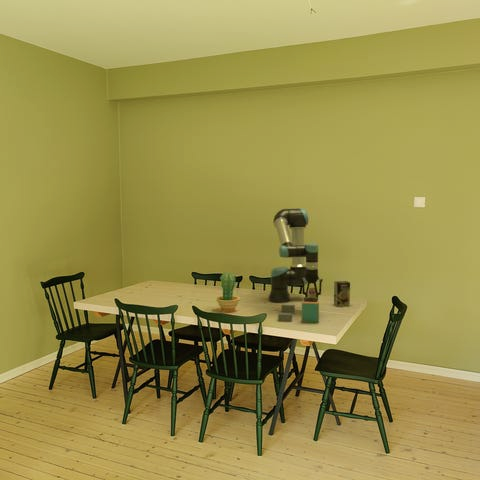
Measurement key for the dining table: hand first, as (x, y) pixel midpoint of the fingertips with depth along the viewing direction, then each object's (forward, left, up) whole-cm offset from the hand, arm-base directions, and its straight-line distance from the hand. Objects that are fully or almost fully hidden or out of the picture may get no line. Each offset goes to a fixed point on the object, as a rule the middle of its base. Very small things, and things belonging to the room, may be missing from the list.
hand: (311, 305), depth 293 cm
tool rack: (-15, -6, -6) cm, 17 cm away
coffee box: (+19, +26, -6) cm, 33 cm away
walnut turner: (0, 0, +2) cm, 2 cm away
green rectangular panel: (0, -16, -6) cm, 17 cm away
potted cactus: (-54, +2, -6) cm, 54 cm away
